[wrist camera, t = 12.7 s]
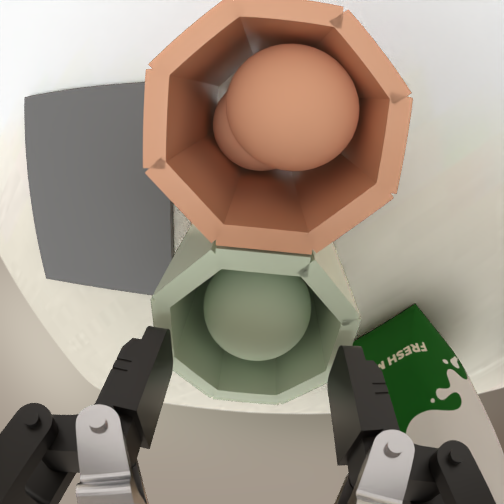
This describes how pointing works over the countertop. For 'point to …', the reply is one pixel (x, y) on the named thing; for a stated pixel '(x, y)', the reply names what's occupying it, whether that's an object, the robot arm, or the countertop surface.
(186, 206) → the tubes
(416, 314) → the milk carton
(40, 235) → the mat
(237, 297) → the ball sage
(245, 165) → the rust ball
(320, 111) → the ball rust
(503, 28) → the countertop surface
